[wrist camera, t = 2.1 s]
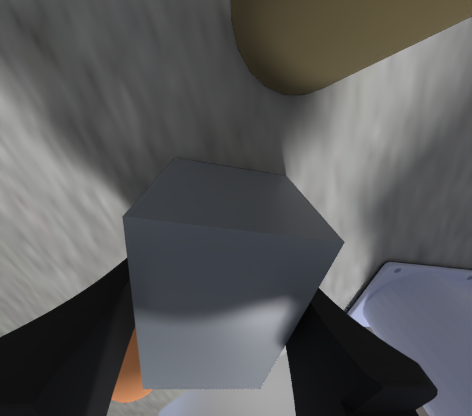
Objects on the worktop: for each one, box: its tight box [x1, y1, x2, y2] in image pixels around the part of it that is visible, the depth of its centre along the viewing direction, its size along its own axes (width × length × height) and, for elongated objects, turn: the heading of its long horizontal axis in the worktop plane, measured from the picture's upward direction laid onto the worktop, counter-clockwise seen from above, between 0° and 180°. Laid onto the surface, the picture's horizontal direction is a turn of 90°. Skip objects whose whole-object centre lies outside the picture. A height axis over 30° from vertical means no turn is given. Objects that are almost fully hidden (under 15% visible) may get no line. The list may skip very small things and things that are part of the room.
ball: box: [111, 326, 153, 403], centre depth 15 cm, size 5×5×5 cm
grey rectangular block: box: [123, 158, 344, 389], centre depth 10 cm, size 6×11×6 cm, turn 170°
